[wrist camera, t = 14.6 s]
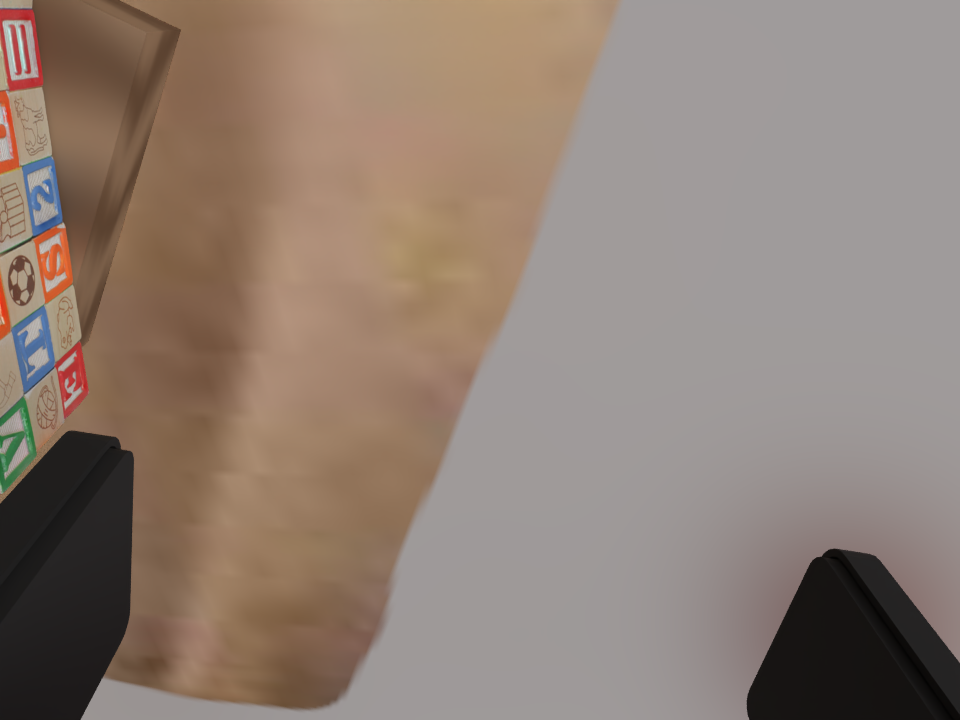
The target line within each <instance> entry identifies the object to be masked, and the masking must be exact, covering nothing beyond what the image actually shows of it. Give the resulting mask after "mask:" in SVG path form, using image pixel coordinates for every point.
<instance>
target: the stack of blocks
mask: <svg viewBox="0 0 960 720" xmlns="http://www.w3.org/2000/svg"><path fill="white" fill-rule="evenodd" d="M42 86H43V74H42V66H41V59H40V52H39V46H38V39H37V32H36V24H35V17H34V12H33V10H32V0H0V493H3V492H5V491H6V490H7V489H8V488H9V486H10V485H11V484H12V483H13V482H14V481H15V480H16V479H17V477H18V476H19V475H20V474H21V473H22V472H23V471H24V470H25V469H26V467H27V466H28V465H29V464H30V463H31V462H32V461H33V460H34V459H35V457H36V455H37V451H38V450H39V449H40V448H41V447H42V446H43V445H44V444H45V443H46V442H47V441H48V439H49V438H50V437H51V436H52V435H53V434H54V433H55V432H56V431H57V429H58V428H59V427H60V426H61V425H62V424H63V423H64V419H66V418H67V417H68V416H69V415H70V414H71V413H72V412H73V411H74V410H75V409H76V408H77V406H78V405H79V404H80V403H81V402H82V401H83V400H84V398H85V397H86V396H87V395H88V393H89V389H88V384H87V378H86V372H85V366H84V361H83V353H82V350H81V343H80V341H79V340H80V339H81V329H80V323H79V315H78V309H77V303H76V296H75V290H74V286H73V284H72V283H73V276H72V268H71V261H70V254H69V246H68V240H67V234H66V226H65V224H64V223H63V222H62V210H61V204H60V198H59V191H58V185H57V178H56V171H55V163H54V159H53V157H52V147H51V140H50V134H49V127H48V121H47V115H46V108H45V101H44V94H43V90H42Z"/></svg>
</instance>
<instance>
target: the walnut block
mask: <svg viewBox="0 0 960 720" xmlns="http://www.w3.org/2000/svg"><path fill="white" fill-rule="evenodd" d="M32 10H33V12H34V17H35V24H36V32H37V39H38V46H39V52H40V59H41V66H42V74H43V86H42V90H43V94H44V101H45V108H46V115H47V121H48V127H49V134H50V140H51V147H52V157H53V159H54V163H55V171H56V178H57V185H58V191H59V198H60V204H61V210H62V222H63V223H64V224H65V226H66V234H67V240H68V246H69V254H70V261H71V268H72V276H73V283H72V284H73V286H74V290H75V296H76V303H77V309H78V315H79V323H80V329H81V339H80V340H79V341H80V343H81V347H82V346H84V345H85V344H86V343H87V342H88V341H89V338H90V334H91V331H92V328H93V324H94V321H95V318H96V314H97V311H98V307H99V304H100V301H101V297H102V294H103V291H104V287H105V284H106V280H107V277H108V274H109V270H110V267H111V264H112V260H113V257H114V253H115V250H116V247H117V243H118V240H119V237H120V233H121V230H122V227H123V223H124V220H125V216H126V213H127V210H128V206H129V203H130V200H131V196H132V193H133V189H134V186H135V183H136V179H137V176H138V173H139V169H140V166H141V162H142V159H143V156H144V152H145V149H146V146H147V142H148V139H149V136H150V132H151V129H152V125H153V122H154V119H155V115H156V112H157V109H158V105H159V102H160V98H161V95H162V92H163V88H164V85H165V82H166V78H167V75H168V71H169V68H170V65H171V61H172V58H173V55H174V51H175V48H176V44H177V41H178V38H179V34H180V31H181V30H180V29H178V28H176V27H174V26H172V25H169V24H167V23H165V22H163V21H161V20H159V19H157V18H155V17H153V16H151V15H149V14H147V13H145V12H142V11H140V10H138V9H136V8H134V7H132V6H130V5H128V4H126V3H124V2H122V1H120V0H32Z"/></svg>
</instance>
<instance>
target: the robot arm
mask: <svg viewBox="0 0 960 720" xmlns="http://www.w3.org/2000/svg"><path fill="white" fill-rule="evenodd" d="M133 474H134V457H133V453H132V452H131V451H127V450H121V445H120V442H119V440H118V439H117V438H116V437H111V436H105V435H98V434H92V433H85V432H79V431H68V432H66V433H65V434H64V435H63V436H62V437H61V438H60V439H59V440H58V441H57V442H56V443H55V445H54V446H53V447H52V448H51V449H50V450H49V451H48V452H47V453H46V454H45V455H44V457H43V458H42V459H41V460H40V461H39V462H38V463H37V464H36V465H35V466H34V467H33V469H32V470H31V471H30V472H29V473H28V474H27V475H26V476H25V477H24V478H23V479H22V481H21V482H20V483H19V484H18V485H17V486H16V487H15V488H14V489H13V490H12V491H11V493H10V494H9V495H8V496H7V497H6V498H5V499H4V500H3V501H2V502H1V504H0V720H81V718H82V716H83V714H84V712H85V710H86V708H87V706H88V704H89V702H90V700H91V698H92V697H93V695H94V693H95V691H96V689H97V687H98V685H99V683H100V681H101V679H102V678H103V676H104V674H105V672H106V670H107V668H108V666H109V664H110V662H111V660H112V658H113V657H114V655H115V653H116V651H117V649H118V647H119V645H120V643H121V641H122V639H123V637H124V634H125V631H126V628H127V625H128V620H129V615H130V594H131V554H132V514H133ZM747 712H748V717H749V720H960V663H959V662H958V660H957V659H956V658H955V656H954V655H953V654H952V653H951V651H950V650H949V649H948V647H947V646H946V645H945V643H944V642H943V641H942V640H941V639H940V637H939V636H938V635H937V633H936V632H935V631H934V629H933V628H932V627H931V625H930V624H929V623H928V622H927V620H926V619H925V618H924V617H923V615H922V614H921V613H920V611H919V610H918V609H917V607H916V606H915V605H914V604H913V602H912V601H911V600H910V599H909V597H908V596H907V595H906V593H905V592H904V591H903V589H902V588H901V587H900V586H899V584H898V583H897V582H896V580H895V579H894V578H893V577H892V575H891V574H890V573H889V572H888V570H887V569H886V568H885V566H884V565H883V564H882V562H881V561H880V560H879V559H878V558H877V557H876V556H873V555H871V554H866V553H860V552H854V551H846V550H840V549H830V550H828V551H826V552H825V553H824V554H823V556H822V557H817V558H815V559H814V560H813V561H812V562H811V563H810V565H809V567H808V569H807V571H806V573H805V575H804V577H803V580H802V582H801V584H800V586H799V588H798V590H797V592H796V594H795V596H794V598H793V600H792V602H791V605H790V607H789V609H788V611H787V613H786V615H785V617H784V619H783V621H782V623H781V625H780V627H779V629H778V631H777V634H776V636H775V638H774V640H773V642H772V644H771V646H770V648H769V650H768V652H767V655H766V656H765V659H764V661H763V663H762V665H761V667H760V669H759V671H758V674H757V675H756V677H755V679H754V681H753V684H752V686H751V688H750V690H749V693H748V697H747Z"/></svg>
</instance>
